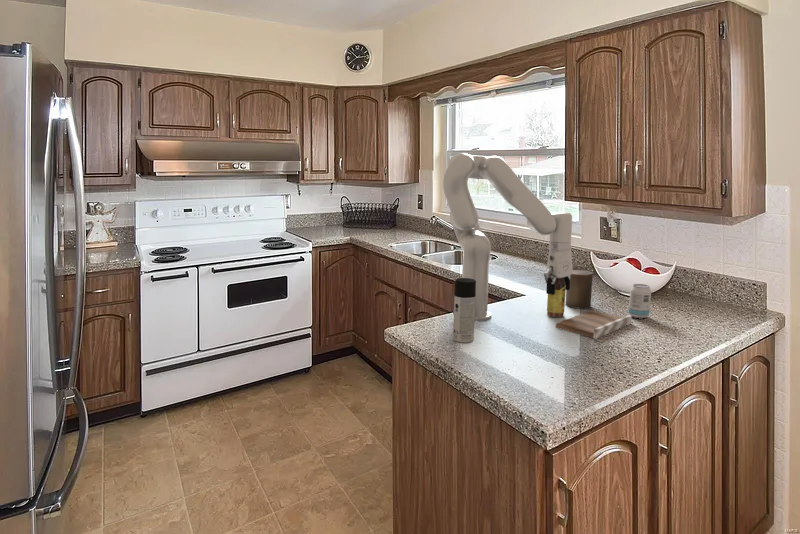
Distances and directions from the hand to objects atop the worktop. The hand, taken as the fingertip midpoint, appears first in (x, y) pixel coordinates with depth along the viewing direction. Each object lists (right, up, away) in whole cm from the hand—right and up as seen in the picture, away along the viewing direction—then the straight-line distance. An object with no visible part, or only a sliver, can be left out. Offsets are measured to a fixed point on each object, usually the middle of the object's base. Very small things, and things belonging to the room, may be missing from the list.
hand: (558, 291), depth 185 cm
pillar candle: (+13, -7, +15) cm, 21 cm away
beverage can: (+30, -10, 0) cm, 31 cm away
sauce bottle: (0, -9, +2) cm, 10 cm away
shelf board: (+9, -11, -9) cm, 17 cm away
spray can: (-38, -15, -24) cm, 48 cm away
